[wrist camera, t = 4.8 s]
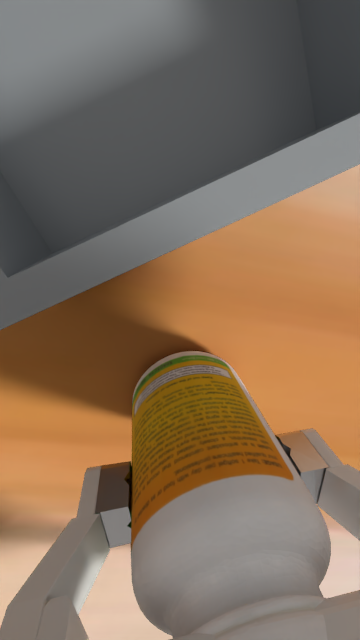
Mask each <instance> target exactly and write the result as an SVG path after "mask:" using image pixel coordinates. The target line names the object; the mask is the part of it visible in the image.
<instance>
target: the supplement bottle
mask: <svg viewBox="0 0 360 640" xmlns="http://www.w3.org/2000/svg"><path fill="white" fill-rule="evenodd" d="M330 555H331V542H330V537H329V532H328V529H327V525H326V523H325V521H324V518H323V516H322V514H321V512H320V510H319V508H318V506H317V505H316V503H315V501H314V499H313V497H312V495H311V494H310V492H309V490H308V489H307V487H306V485H305V483H304V482H303V480H302V479H301V477H300V476H299V474H298V472H297V471H296V469H295V467H294V466H293V464H292V462H291V461H290V459H289V458H288V456H287V454H286V453H285V451H284V449H283V448H282V446H281V445H280V443H279V441H278V440H277V438H276V436H275V435H274V433H273V431H272V430H271V428H270V427H269V425H268V423H267V422H266V420H265V418H264V417H263V415H262V413H261V412H260V410H259V409H258V407H257V405H256V404H255V402H254V400H253V399H252V397H251V395H250V394H249V392H248V390H247V389H246V387H245V386H244V384H243V382H242V381H241V379H240V378H239V377H238V375H237V374H236V372H235V371H234V369H233V368H232V367H231V366H230V365H229V364H228V363H227V362H226V361H224V360H223V359H221V358H219V357H218V356H215V355H213V354H210V353H206V352H200V351H185V352H179V353H175V354H172V355H169V356H167V357H165V358H163V359H161V360H159V361H158V362H156V363H155V364H153V365H152V366H151V367H150V368H149V369H148V370H147V371H146V372H145V373H144V374H143V375H142V377H141V378H140V380H139V381H138V383H137V385H136V388H135V390H134V394H133V401H132V503H131V567H132V584H133V590H134V594H135V597H136V600H137V603H138V605H139V607H140V609H141V611H142V612H143V614H144V615H145V617H146V618H147V619H148V620H149V621H150V622H151V623H152V624H153V625H154V626H156V627H157V628H158V629H160V630H162V631H163V632H165V633H167V634H169V635H172V636H173V639H174V638H178V637H182V636H186V635H189V634H193V633H202V634H211V635H214V636H215V640H327V631H326V624H325V619H324V616H323V614H321V613H319V612H317V611H316V610H315V608H316V607H317V606H318V605H319V604H320V603H321V602H322V601H323V600H325V599H326V598H324V597H323V595H322V593H321V591H320V589H319V585H320V583H321V582H322V580H323V579H324V576H325V574H326V572H327V569H328V566H329V562H330Z"/></svg>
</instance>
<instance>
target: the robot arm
mask: <svg viewBox="0 0 360 640" xmlns="http://www.w3.org/2000/svg"><path fill="white" fill-rule="evenodd" d="M275 436H276V438H277V440H278V441H279V443H280V445H281V446H282V448H283V449H284V451H285V453H286V454H287V456H288V458H289V459H290V461H291V462H292V464H293V466H294V467H295V469H296V471H297V472H298V474H299V476H300V477H301V479H302V480H303V482H304V483H305V485H306V487H307V489H308V490H309V492H310V494H311V495H312V497H313V499H314V501H315V503H316V504H318V506H319V507H320V508H321V509H323V510H324V511H325V512H326V513H327V514H329V515H330V516H331V517H332V518H333V519H335V520H336V521H337V522H338V523H339V524H340V525H342V526H343V527H344V528H345V529H346V530H348V531H349V532H350V533H351V534H352V535H354V536H355V537H356V538H357V539H358V540H360V471H358V470H357V469H355V468H353V467H351V466H350V465H348V464H347V465H343V463H342V462H341V461H340V460H339V458H338V457H337V456H336V455H335V454H334V452H333V451H332V450H331V449H330V448H329V446H328V445H327V444H326V443H325V441H324V440H323V439H322V438H321V437H320V435H319V434H318V433H317V432H316V430H314V429H306V430H301V431H294V432H288V433H283V434H278V435H275ZM131 503H132V466H131V461H129V462H122V463H115V464H109V465H102V466H96V467H90V468H87V470H86V472H85V475H84V481H83V486H82V491H81V497H80V502H79V507H78V512H77V518H73V519H71V521H70V522H69V523H68V525H67V526H66V527H65V529H64V530H63V532H62V533H61V534H60V536H59V537H58V538H57V540H56V541H55V542H54V544H53V545H52V547H51V548H50V549H49V551H48V552H47V553H46V555H45V556H44V557H43V559H42V560H41V562H40V563H39V564H38V566H37V567H36V568H35V570H34V571H33V572H32V574H31V575H30V577H29V578H28V579H27V581H26V582H25V583H24V585H23V586H22V587H21V589H20V590H19V592H18V593H17V594H16V596H15V597H14V598H13V600H12V601H11V602H10V604H9V605H8V607H7V610H6V613H5V616H4V619H3V622H2V625H1V628H0V640H89V638H88V636H87V634H86V631H85V629H84V627H83V625H82V623H81V620H80V618H79V616H78V614H79V612H80V610H81V608H82V606H83V604H84V602H85V600H86V598H87V596H88V594H89V592H90V590H91V588H92V586H93V584H94V582H95V580H96V578H97V575H98V573H99V571H100V569H101V567H102V565H103V563H104V561H105V559H106V557H107V555H108V553H109V551H110V549H109V548H112V547H116V546H120V545H124V544H128V543H131ZM315 610H316V611H317V612H319V613H321V614H323V616H324V619H325V624H326V631H327V640H360V590H358V591H354V592H351V593H347V594H343V595H339V596H335V597H331V598H328V599H325V600H323V601H322V602H321V603H320V604H319V605H318V606H317V607H316V608H315ZM170 640H215V636H214V635H211V634H202V633H193V634H189V635H186V636H182V637H178V638H174V639H170Z"/></svg>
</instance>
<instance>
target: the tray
mask: <svg viewBox="0 0 360 640" xmlns="http://www.w3.org/2000/svg"><path fill="white" fill-rule="evenodd" d="M359 164H360V0H0V330H1V329H4V328H6V327H8V326H10V325H12V324H14V323H17V322H19V321H21V320H23V319H25V318H27V317H30V316H32V315H34V314H36V313H38V312H40V311H43V310H45V309H47V308H49V307H51V306H53V305H56V304H58V303H60V302H62V301H64V300H66V299H69V298H71V297H73V296H75V295H77V294H79V293H82V292H84V291H86V290H88V289H90V288H92V287H95V286H97V285H99V284H101V283H103V282H105V281H108V280H110V279H112V278H114V277H116V276H118V275H121V274H123V273H125V272H127V271H129V270H131V269H134V268H136V267H138V266H140V265H142V264H144V263H147V262H149V261H151V260H153V259H155V258H157V257H160V256H162V255H164V254H166V253H168V252H170V251H173V250H175V249H177V248H179V247H181V246H183V245H186V244H188V243H190V242H192V241H194V240H196V239H199V238H201V237H203V236H205V235H207V234H209V233H212V232H214V231H216V230H218V229H220V228H222V227H225V226H227V225H229V224H231V223H233V222H235V221H238V220H240V219H242V218H244V217H246V216H248V215H251V214H253V213H255V212H257V211H259V210H261V209H264V208H266V207H268V206H270V205H272V204H275V203H277V202H279V201H281V200H283V199H285V198H288V197H290V196H292V195H294V194H296V193H298V192H301V191H303V190H305V189H307V188H309V187H311V186H314V185H316V184H318V183H320V182H322V181H324V180H327V179H329V178H331V177H333V176H335V175H337V174H340V173H342V172H344V171H346V170H348V169H350V168H353V167H355V166H357V165H359Z"/></svg>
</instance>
